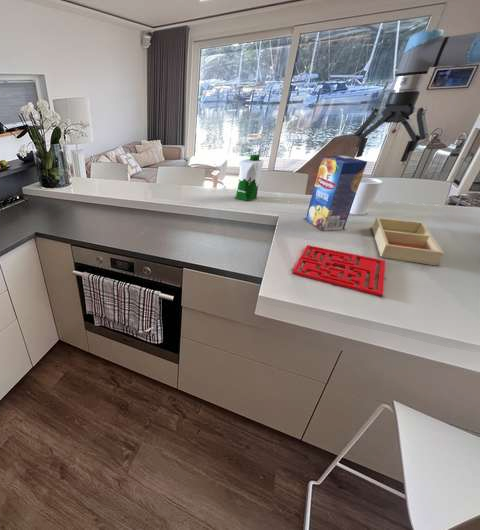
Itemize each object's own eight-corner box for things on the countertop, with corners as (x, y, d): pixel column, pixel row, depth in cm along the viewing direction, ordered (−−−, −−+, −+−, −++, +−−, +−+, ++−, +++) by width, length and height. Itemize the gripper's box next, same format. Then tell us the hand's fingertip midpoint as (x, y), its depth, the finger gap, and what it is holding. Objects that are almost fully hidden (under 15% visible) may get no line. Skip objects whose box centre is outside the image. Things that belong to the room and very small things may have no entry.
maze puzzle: (306, 246, 96) (307, 245, 95) (384, 262, 84) (385, 260, 84) (292, 273, 83) (292, 271, 82) (381, 296, 71) (382, 294, 71)
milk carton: (259, 198, 142) (266, 155, 132) (247, 202, 138) (254, 158, 128) (244, 194, 148) (250, 153, 138) (232, 198, 144) (237, 156, 134)
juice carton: (343, 229, 105) (367, 161, 93) (322, 230, 106) (343, 163, 94) (324, 217, 116) (343, 155, 103) (305, 218, 116) (322, 156, 104)
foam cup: (342, 207, 124) (353, 176, 117) (370, 210, 119) (382, 178, 112) (341, 214, 117) (352, 182, 111) (370, 217, 112) (383, 184, 106)
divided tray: (417, 233, 98) (423, 222, 96) (436, 265, 81) (443, 252, 79) (371, 228, 104) (376, 217, 102) (380, 257, 87) (385, 245, 85)
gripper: (356, 93, 102) (337, 156, 112) (453, 89, 83) (419, 165, 93) (366, 92, 105) (347, 153, 115) (463, 87, 86) (429, 161, 96)
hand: (379, 158), depth 104 cm, fingers open, 13 cm apart
